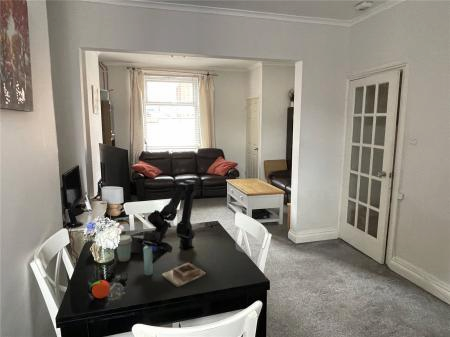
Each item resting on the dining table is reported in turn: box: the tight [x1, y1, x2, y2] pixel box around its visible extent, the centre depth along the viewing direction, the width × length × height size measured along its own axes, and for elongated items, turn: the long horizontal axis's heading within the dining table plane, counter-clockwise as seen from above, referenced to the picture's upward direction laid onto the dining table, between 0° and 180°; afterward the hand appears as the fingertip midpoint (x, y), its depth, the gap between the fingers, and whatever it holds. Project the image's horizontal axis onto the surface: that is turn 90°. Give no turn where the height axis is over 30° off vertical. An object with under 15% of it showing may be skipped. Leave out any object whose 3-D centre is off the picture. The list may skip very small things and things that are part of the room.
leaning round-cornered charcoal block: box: [131, 235, 157, 255], centre depth 164 cm, size 16×5×9 cm, turn 98°
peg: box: [143, 246, 154, 276], centre depth 141 cm, size 4×4×13 cm
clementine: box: [89, 279, 111, 299], centre depth 122 cm, size 8×7×7 cm
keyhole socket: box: [161, 262, 207, 288], centre depth 140 cm, size 16×13×4 cm
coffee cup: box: [116, 234, 132, 262], centre depth 156 cm, size 8×8×12 cm
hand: (146, 261), depth 140 cm, fingers open, 7 cm apart
